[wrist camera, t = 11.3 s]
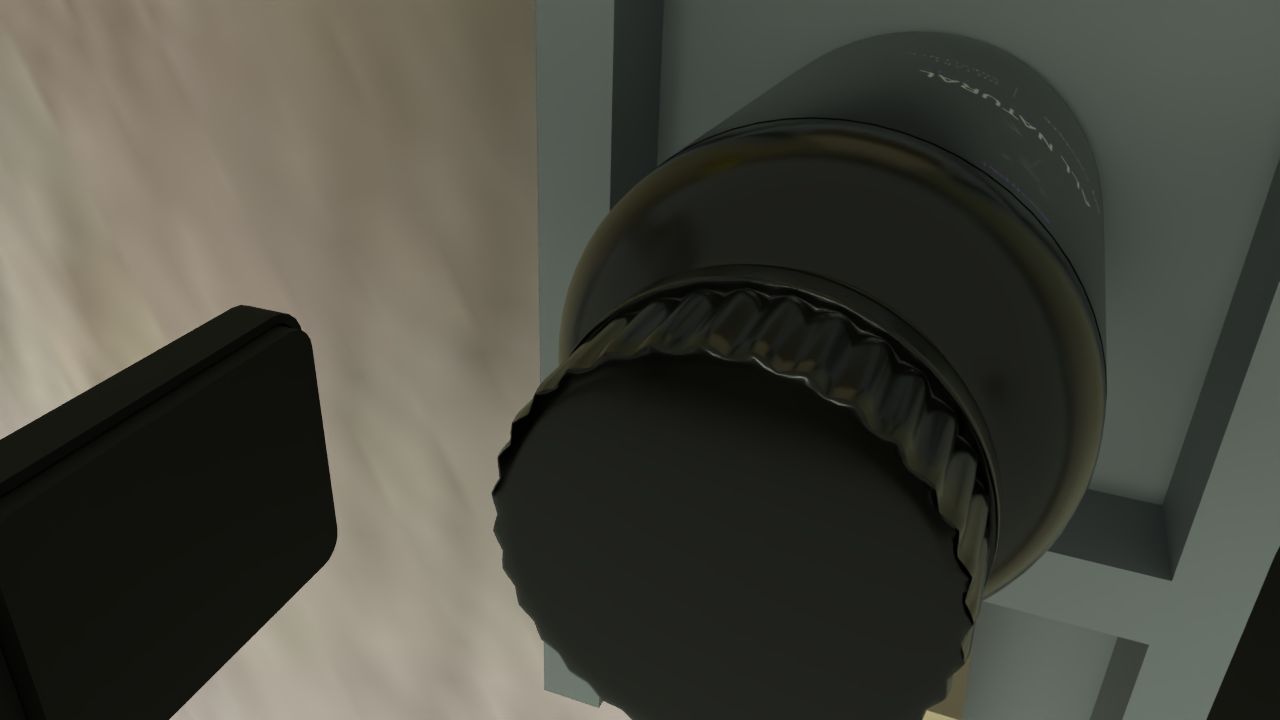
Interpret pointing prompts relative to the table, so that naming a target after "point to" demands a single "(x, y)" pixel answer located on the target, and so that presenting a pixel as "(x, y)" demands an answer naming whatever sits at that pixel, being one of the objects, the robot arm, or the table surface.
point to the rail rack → (1134, 284)
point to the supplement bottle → (818, 393)
